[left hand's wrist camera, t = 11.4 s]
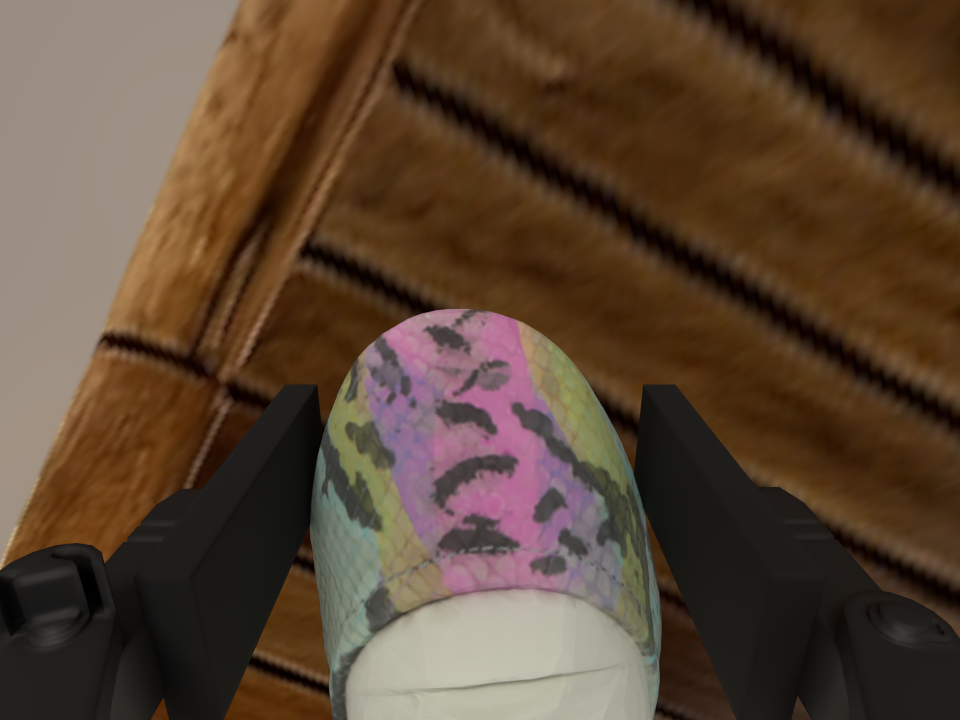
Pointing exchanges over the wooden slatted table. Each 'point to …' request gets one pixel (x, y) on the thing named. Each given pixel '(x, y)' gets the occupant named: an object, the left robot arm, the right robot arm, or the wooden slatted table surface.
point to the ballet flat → (480, 534)
